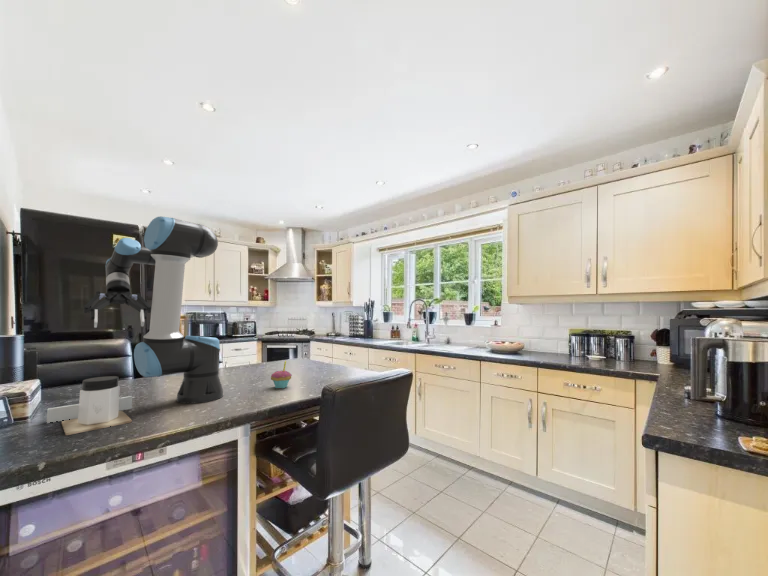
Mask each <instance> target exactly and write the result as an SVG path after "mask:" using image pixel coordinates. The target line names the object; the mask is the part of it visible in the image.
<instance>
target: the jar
mask: <svg viewBox="0 0 768 576" xmlns="http://www.w3.org/2000/svg"><path fill="white" fill-rule="evenodd" d="M120 390H121V386H120V385H119V376H116V375H112V376H110V375H108V376H96V377H90V378H85V379H83V380H82V385H81V389H80V390H79V396H78V397H79V399H78V400H79V401H78V404H79V413H78V423H79V424H84V425H93V424H99V423H105V422H109V421H111V420H113V419H115V418H117V417H118V411H119V398H120V394H121V393H120Z"/></svg>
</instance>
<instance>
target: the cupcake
mask: <svg viewBox="0 0 768 576" xmlns="http://www.w3.org/2000/svg"><path fill="white" fill-rule="evenodd" d="M286 365H287V360H285V361H284V363H283V370H276V371H274V372H273V373H272V374H271V375H270V380H271V381H272V382H273V384H274V388H275V389H277V388H282V389H286V388H288V384H289V383H290V380H291V379H292V376H293V375H292V374H291V373H290V372H289V371H287V370H286ZM285 387H286V388H285Z"/></svg>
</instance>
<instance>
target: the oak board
mask: <svg viewBox="0 0 768 576" xmlns="http://www.w3.org/2000/svg"><path fill="white" fill-rule="evenodd" d="M132 422H133V420H132V419H131V417H129V416H128V415H127V414H126V412H124V410H121V411H118V417H117V418H115V419H113V420H111V421H109V422H105V423H99V424H93V425H84V424H79V423H78V418H75V419H70V420H64V421H61V426H62V429H63V431H64V434H65V436H70V435H75V434H79V433H80V434H81V433H85V432H91V431H95V430H101V429H105V428H110V426H111V427H115V426H121V425H125V424H131V423H132Z"/></svg>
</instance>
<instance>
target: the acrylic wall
mask: <svg viewBox="0 0 768 576" xmlns="http://www.w3.org/2000/svg"><path fill="white" fill-rule="evenodd" d="M132 409H133V395H129V396H123V397H121V396H120V397H119V411H125V410H126V411H127V410H132ZM78 413H79V403H77V404H68V405H63V406H62V405H61V406H56V407H48V408H47V412H46V422H47V423H46V424H51V423H50V422H53V423H57V422H56V421H58V422H62V420H64V421H66V420H69V419H70V420H72V419H77V418H78Z"/></svg>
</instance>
